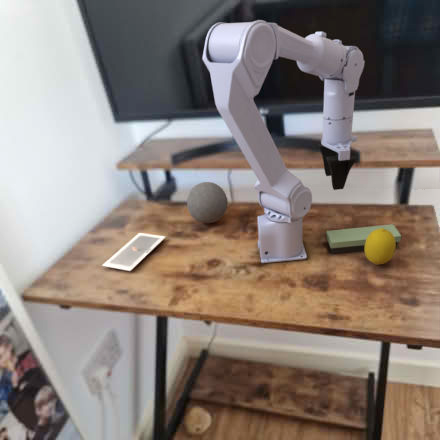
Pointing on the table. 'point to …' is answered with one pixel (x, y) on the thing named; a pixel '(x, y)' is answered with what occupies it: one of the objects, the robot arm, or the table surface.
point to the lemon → (380, 246)
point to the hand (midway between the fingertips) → (334, 181)
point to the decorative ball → (207, 202)
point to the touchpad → (134, 251)
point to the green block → (355, 238)
